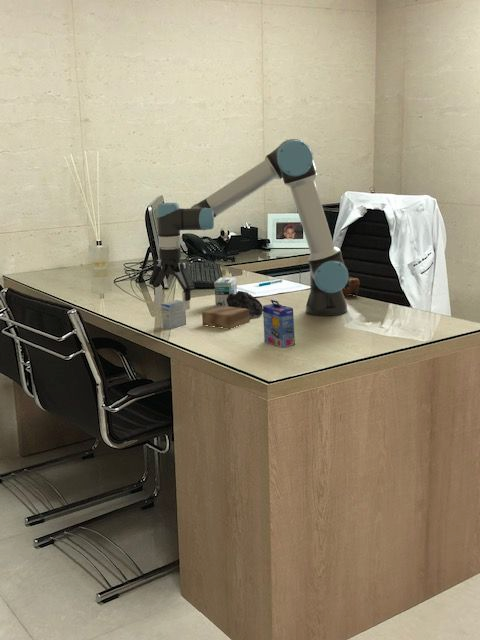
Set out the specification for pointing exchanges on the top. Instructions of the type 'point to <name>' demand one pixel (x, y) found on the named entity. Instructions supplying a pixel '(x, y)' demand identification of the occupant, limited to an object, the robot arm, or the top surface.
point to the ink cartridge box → (278, 325)
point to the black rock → (245, 303)
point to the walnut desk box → (226, 317)
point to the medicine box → (173, 314)
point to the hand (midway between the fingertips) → (172, 307)
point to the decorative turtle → (351, 286)
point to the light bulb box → (224, 290)
